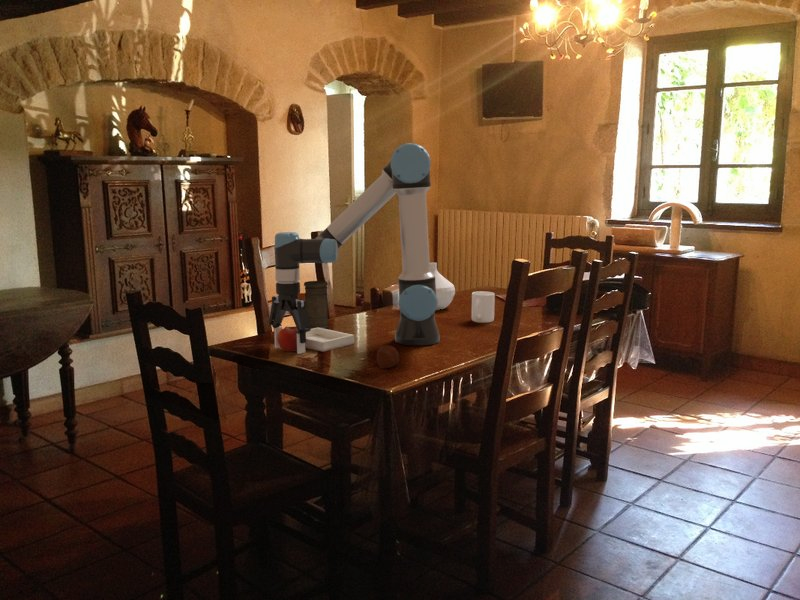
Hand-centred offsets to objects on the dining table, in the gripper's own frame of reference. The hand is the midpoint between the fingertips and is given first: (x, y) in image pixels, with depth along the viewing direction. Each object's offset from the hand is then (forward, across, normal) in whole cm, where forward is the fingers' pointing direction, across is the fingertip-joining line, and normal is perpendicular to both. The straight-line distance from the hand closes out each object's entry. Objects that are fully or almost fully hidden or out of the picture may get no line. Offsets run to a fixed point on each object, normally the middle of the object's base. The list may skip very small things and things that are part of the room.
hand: (289, 350), depth 225 cm
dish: (0, 0, -13) cm, 13 cm away
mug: (0, -20, -77) cm, 80 cm away
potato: (0, -36, -7) cm, 37 cm away
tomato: (+1, 0, -1) cm, 1 cm away
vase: (0, +11, -86) cm, 87 cm away
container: (0, +14, -24) cm, 28 cm away
